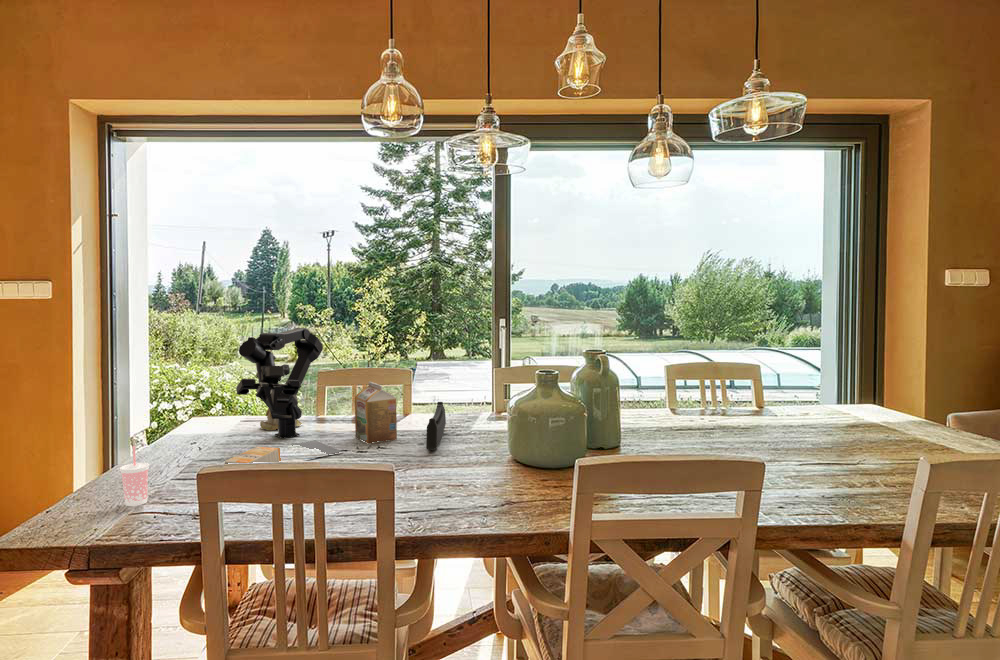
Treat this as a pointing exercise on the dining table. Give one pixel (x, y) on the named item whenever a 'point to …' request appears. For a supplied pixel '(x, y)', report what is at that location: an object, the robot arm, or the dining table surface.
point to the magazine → (436, 427)
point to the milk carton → (375, 414)
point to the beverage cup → (135, 482)
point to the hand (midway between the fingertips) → (273, 410)
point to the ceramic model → (273, 422)
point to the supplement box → (257, 456)
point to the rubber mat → (319, 447)
